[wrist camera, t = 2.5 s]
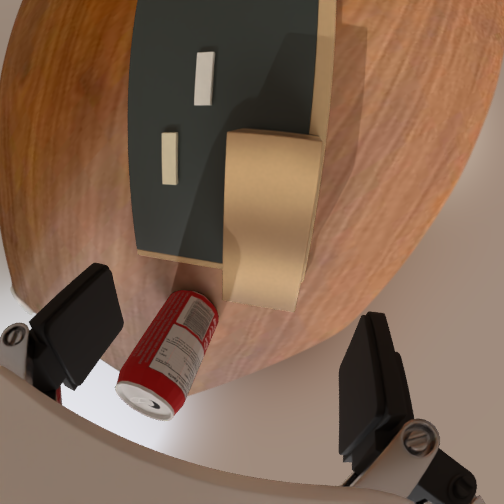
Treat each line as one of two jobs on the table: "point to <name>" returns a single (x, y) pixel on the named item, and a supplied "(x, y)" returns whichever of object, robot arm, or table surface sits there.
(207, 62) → the white chalk stick
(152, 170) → the chalkboard
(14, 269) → the table surface
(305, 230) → the eraser
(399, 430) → the robot arm
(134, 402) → the soda can
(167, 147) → the chalk mark
